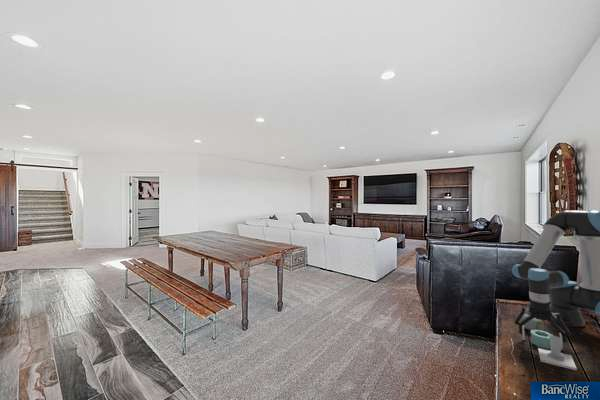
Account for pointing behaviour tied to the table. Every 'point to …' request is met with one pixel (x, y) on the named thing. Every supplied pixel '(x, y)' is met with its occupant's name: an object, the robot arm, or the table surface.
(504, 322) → the table surface
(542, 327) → the ceramic mug
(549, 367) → the table surface
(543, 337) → the ring
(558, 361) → the plate with round peg
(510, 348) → the table surface
